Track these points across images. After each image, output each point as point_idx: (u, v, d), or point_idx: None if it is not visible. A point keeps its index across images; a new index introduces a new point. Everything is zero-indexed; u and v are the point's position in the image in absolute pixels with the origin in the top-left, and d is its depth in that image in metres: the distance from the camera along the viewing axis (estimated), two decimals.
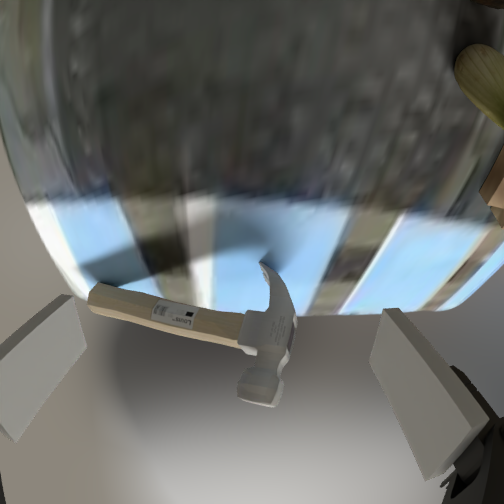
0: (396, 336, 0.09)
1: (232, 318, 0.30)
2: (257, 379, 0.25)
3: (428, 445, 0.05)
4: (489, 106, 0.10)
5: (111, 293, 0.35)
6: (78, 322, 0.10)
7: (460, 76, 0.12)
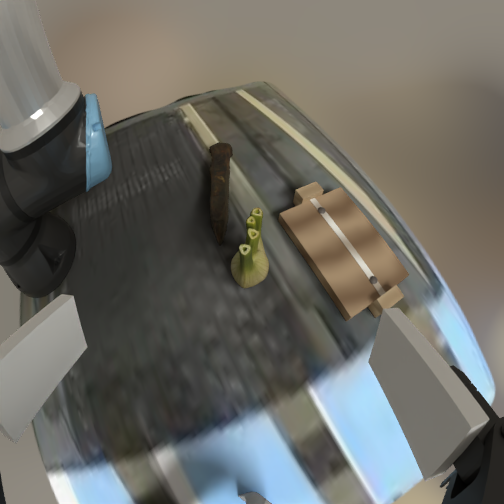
0: (396, 336, 0.09)
1: None
2: None
3: (428, 445, 0.05)
4: (240, 275, 0.32)
5: None
6: (78, 322, 0.10)
7: None
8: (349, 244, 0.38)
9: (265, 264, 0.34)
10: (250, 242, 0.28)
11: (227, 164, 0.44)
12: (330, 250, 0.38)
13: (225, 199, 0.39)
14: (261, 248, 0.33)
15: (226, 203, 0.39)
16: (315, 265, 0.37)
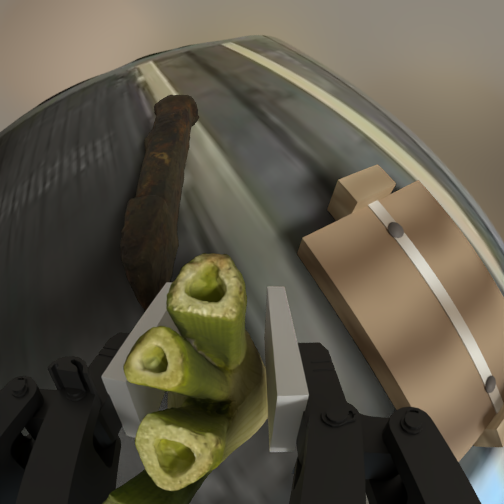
0: (268, 310, 0.11)
1: None
2: None
3: (270, 413, 0.07)
4: None
5: None
6: None
7: None
8: (454, 311, 0.14)
9: (263, 412, 0.10)
10: (171, 479, 0.03)
11: (180, 130, 0.19)
12: (422, 333, 0.13)
13: (160, 203, 0.15)
14: (250, 380, 0.09)
15: (162, 214, 0.14)
16: (390, 375, 0.12)
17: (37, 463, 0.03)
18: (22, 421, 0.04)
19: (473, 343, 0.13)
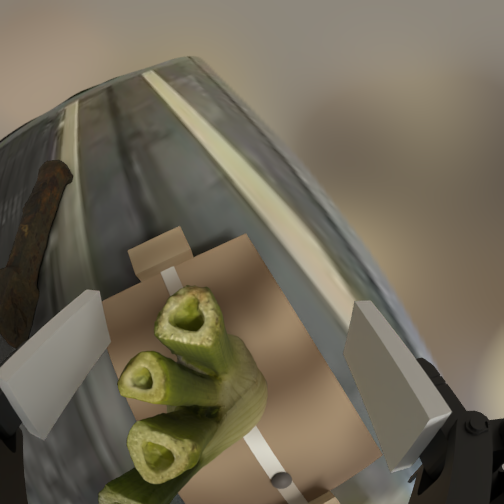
0: (364, 327, 0.09)
1: None
2: None
3: (392, 436, 0.06)
4: None
5: None
6: (103, 317, 0.11)
7: None
8: None
9: (255, 415, 0.10)
10: None
11: (43, 200, 0.20)
12: None
13: (11, 274, 0.15)
14: (240, 386, 0.09)
15: (11, 282, 0.15)
16: None
17: None
18: None
19: (256, 434, 0.13)
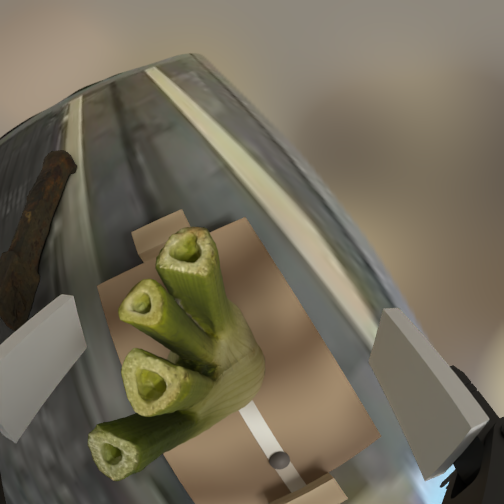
0: (396, 336, 0.09)
1: None
2: None
3: (428, 445, 0.05)
4: None
5: None
6: (78, 322, 0.10)
7: None
8: None
9: (252, 384, 0.11)
10: None
11: (46, 188, 0.21)
12: None
13: (12, 258, 0.16)
14: (237, 350, 0.10)
15: (12, 266, 0.16)
16: None
17: None
18: None
19: (254, 411, 0.14)
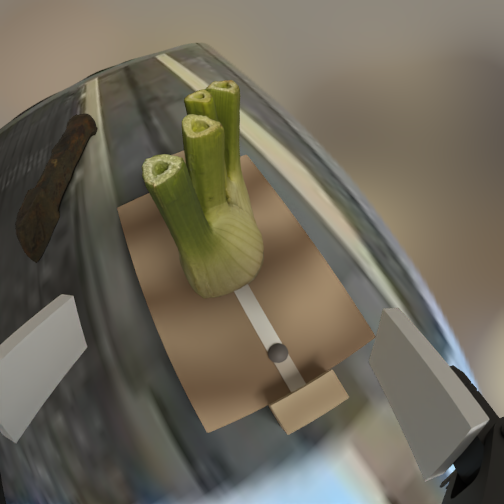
0: (396, 336, 0.09)
1: None
2: None
3: (428, 445, 0.05)
4: None
5: None
6: (78, 322, 0.10)
7: None
8: None
9: (253, 244, 0.14)
10: (191, 154, 0.08)
11: (72, 142, 0.24)
12: (187, 281, 0.18)
13: (39, 192, 0.19)
14: (243, 202, 0.13)
15: (38, 197, 0.19)
16: None
17: None
18: None
19: (254, 302, 0.17)
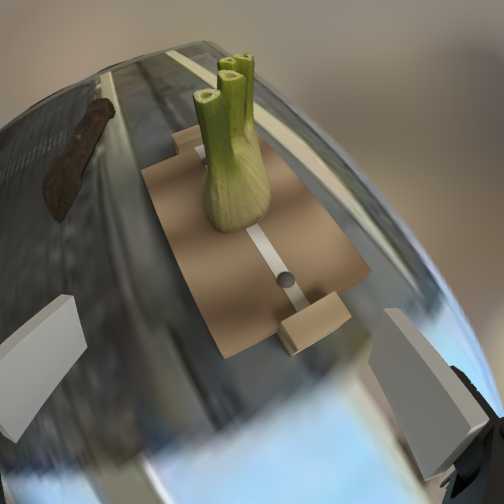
0: (395, 336, 0.09)
1: None
2: None
3: (428, 445, 0.05)
4: (209, 191, 0.15)
5: None
6: (78, 322, 0.10)
7: (212, 221, 0.19)
8: None
9: (263, 180, 0.17)
10: (224, 92, 0.11)
11: (94, 120, 0.27)
12: (205, 223, 0.21)
13: (66, 158, 0.22)
14: (255, 146, 0.16)
15: (65, 163, 0.22)
16: (172, 249, 0.20)
17: None
18: None
19: (263, 238, 0.20)
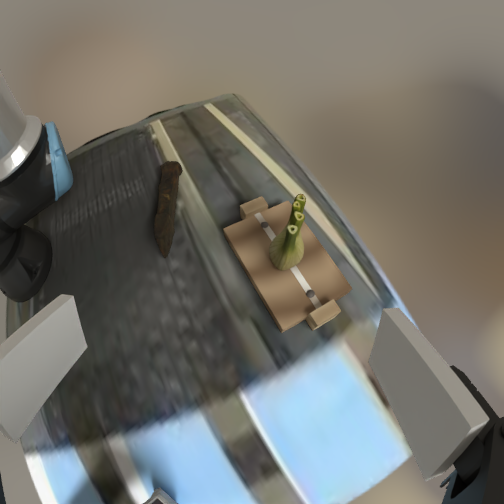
0: (395, 336, 0.09)
1: None
2: None
3: (428, 445, 0.05)
4: (281, 256, 0.35)
5: None
6: (78, 322, 0.10)
7: (275, 265, 0.38)
8: None
9: (302, 248, 0.37)
10: (296, 223, 0.30)
11: (173, 182, 0.47)
12: (268, 264, 0.40)
13: (167, 216, 0.42)
14: (300, 232, 0.36)
15: (168, 220, 0.42)
16: (252, 278, 0.40)
17: None
18: None
19: (298, 273, 0.40)
